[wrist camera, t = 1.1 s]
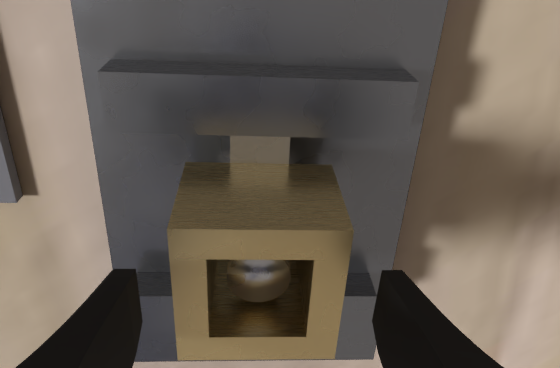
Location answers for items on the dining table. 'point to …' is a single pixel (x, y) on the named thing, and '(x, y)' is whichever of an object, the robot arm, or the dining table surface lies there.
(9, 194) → the mat
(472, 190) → the dining table surface
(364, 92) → the vise
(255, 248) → the collar
